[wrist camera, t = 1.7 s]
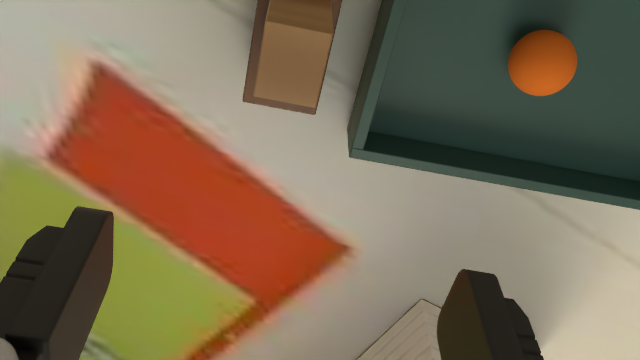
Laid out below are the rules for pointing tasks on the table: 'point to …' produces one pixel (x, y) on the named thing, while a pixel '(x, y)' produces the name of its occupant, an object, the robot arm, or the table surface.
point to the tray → (504, 96)
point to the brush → (290, 53)
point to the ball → (542, 62)
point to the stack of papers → (409, 337)
